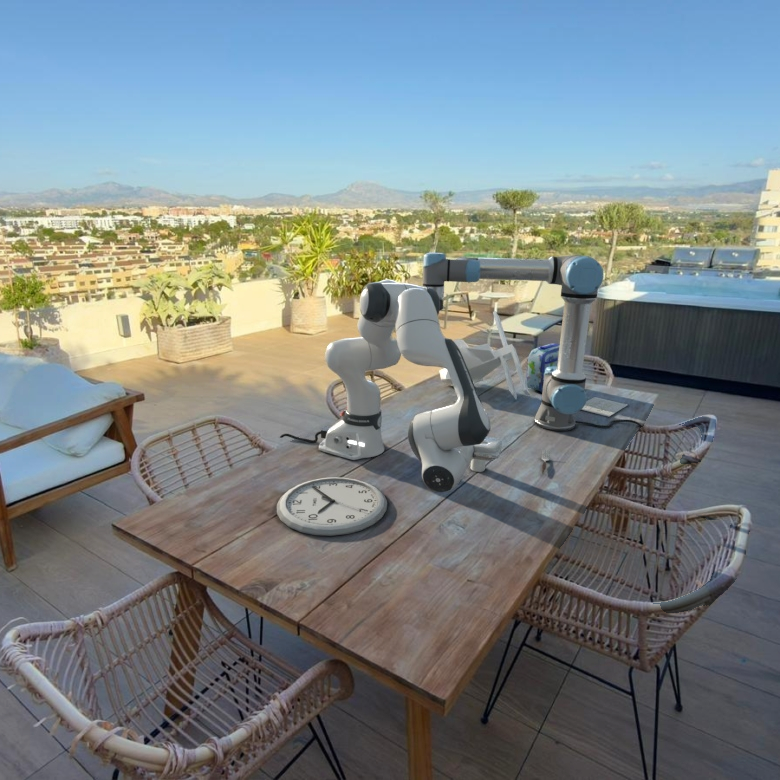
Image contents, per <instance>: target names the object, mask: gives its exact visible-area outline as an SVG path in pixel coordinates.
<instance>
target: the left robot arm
mask: <svg viewBox="0 0 780 780" xmlns="http://www.w3.org/2000/svg"><path fill="white" fill-rule="evenodd" d="M359 311H360V315H359V317H358V320H357V325H356V326H357V332H358V335H360V337H359V336H358V337H348V338H347V337H346V338H341V339H337V340H335V341H331V342H330V343H329V344H328V345H327V346H326V349H325V352H324V361H325V364H326V366H327V367H328V369H329V370H330V371H332V372H333V373H334V374H336V375H337V376H338V377H339V378H340V379H341V381H342V382H343V385H344V388H345V392H346V393H345V395H346V407H345V409H343V410H342V412H341V413H340V415H339V417H340V418H341V419H340V420H339V421H337V422H336V423H334V424H333V425H331V426H324V427H323V428H322V429H321V430H320V431H317V432H316V433H315V434H314V439H309V438H304V437H300V438H299V436H296V435H293V434H289V433H283V434H281V435H280V436H279V438H281V439H282V438H284V437H288V438H291V439H294V440H298V441H300V442H305V443H306V442H307V443H310V444H314V443H317V442H318V441H319V437H318V436H319V435H320V438H321V439H322V440H321V441H320V443H319V444H318V451H319V452H323V453H327V454H330V455H334V456H336V457H341V458H344V459H348V460H352V461H356V460H360V459H366V458H367V459H368V458H371V457H372V458H373V457H377V456H379V455H381V454H382V453H384V452H385V445H384V442H383V437H382V428H381V427H382V421H383V416H382V409H381V389H380V387H379V386H378V384H377V383H375V382H374V381H372V380H370V379H367V378H366V372H369V371H377V370H384V369H387V368H391V367H393V366H396V365H397V364H398V363H399V362H400V360H401V357H403V358H404V359H405V360H406V361H408V362H410V363H412V364H414V365H417V366H420V367H421V366H422V367H436V368H442V369H444V368H446V369H447V370H448V373H449V375H450V378H451V381H452V383H453V384H452V386H453V389H454V392H455V394H456V396H457V400H456V402H454V403H453V404H450V405H445V406H442V407H439V408H436V409H431V410H427V411H424V412H421V413H417V414H415V415H414V416H413V417H412V419H411V421H410V422H409V423H410V424H409V427H408V429H407V440H408V442H409V446H410V449H411V451H412V453H413V454H414V456H415V457H416V458H417V459H418V461H419V462H420V463H421V479H422V481H423V483H424V485H425V486H426V487H427V488H428V489H430V490H431V491H432V492H433V491H434V492H437V493H447V492H451V491H452V490H453V489H455V488H456V487H457V486H458V485H459V484H460V482H461V481H462V479H463V478H464V476H465V474H466V471H467V470H468V468H469V466H471V461H472V459H479V460H485V462H486V461H487V462H492V461H495V460H496V459H499V457H500V455H501V453H502V449H503V441H502V440H501V439H500V438H497V437H489V434H490V431H491V421H490V417H489V415H488V413H487V411H486V409H485V407H484V404H483V402H482V401H481V399H480V396H479V393H478V392H477V389H476V386H475V383H474V382H473V381H472V378H471V376H470V373H469V371H468V368H467V366H466V363H465V361H464V359H463V356H462V354H461V352H460V350H459V348H458V346H457V345H456V344H455V342H454V340H453V339H452V338H446V337H445V336H444V334H443V332H442V328H441V323H440V318H439V315H440V311H441V310H440V298H439V295H438V294H437V292H436V291H435V290H434V289H432V288H429V287H426V286H423V285H422V286H420V285H416V284H411V283H405V282H401V283H399V282H397V281H395V280H392V279H383V280H380V281H375V282H369V283H367V284H365V285H364V287H363V288H362V289H361V293H360V296H359ZM394 331H395V335H396V336H395V337H396V338H395V337H394V336H393V334H394Z"/></svg>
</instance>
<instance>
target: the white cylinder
mask: <svg viewBox="0 0 780 780" xmlns="http://www.w3.org/2000/svg"><path fill="white" fill-rule="evenodd" d="M470 470H471V471H473V472H475V473H481V472H484V471H485V470H486V461H485V460H479V459H472V461H471V463H470Z"/></svg>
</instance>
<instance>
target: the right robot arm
mask: <svg viewBox="0 0 780 780" xmlns="http://www.w3.org/2000/svg"><path fill="white" fill-rule="evenodd" d="M422 264H423V265H422V286H426V287H429V288H432V289H434V290H435V291H436V292H437V294H438V295H439V298H440V311H442V310H444V299H443V298H444V297H445V282H447V283H449V282H452V283H453V282H457V283H468V284H470V283H477V282H479V281H480V280H495V281H497V280H499V281H500V280H501V281H526V282H527V281H531V282H546V283H547V284H548V285H557V286H561V289H560V298H561V299H562V300H563V303H564V305H563V313H562V322H561V330H560V339H559V345H560V346H559V355H558V364H557V366H553V367H547V368H546V369H545V373H544V382H543V392H541V393H542V394H541V402H540V405H539V407H538V410H537V411H536V413H535V416H534V424H535V425H536V426H537V427H539V428H542V429H544V430H549V431H556V432H567V431H572V430H574V429H575V428H576V424H580V425H585V426H592V427H597V428H601V429H602V428H604V429H609V428H610V427H612V426H613V424H614V423H632V424H636V425H637V426H638V427H639V428H644V426H643V424H641V423H640V422H638V421H636V420H633V419H613V420H611V421H610V422H609V424H605V425H603V424H597V423H593V422H589V421H588V422H587V421H581V420H576V418H575V417H576V416H575V414H576V413H579V412H580V411H582V410H581V409H582V408H583V407H584V406H585V404H586V401H588V397H587V392H586V389H585V388H586V383H587V382H586V381H587V375H586V374H585V373H584V371H583V369H584V361H585V355H586V347H587V339H588V338H587V337H588V330H589V324H590V318H591V317H590V316H591V308H592V303H593V302H594V301H596V300H597V298H598V294H599V293H598V291H599V288H601V285H602V284H603V281H604V269H603V267H602V265H601V264H600V262H599V261H597V260H596V259H595V258H594V257H592V256H587V255H581V254H574V255H573V254H572V255H565V256H551V257H549V258H548V259H545V258H544V259H543V258H542V259H541V258H540V259H539V258H501V257H500V258H497V257H496V258H495V257H494V258H492V257H466V256H460V257H457V258H455V259H451V258H449V259H448V258H447V257H446V253H444V252H427V253H425V254H424V255H423V263H422Z"/></svg>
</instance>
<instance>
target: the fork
mask: <svg viewBox="0 0 780 780" xmlns="http://www.w3.org/2000/svg"><path fill="white" fill-rule="evenodd" d="M541 460H542V461H543V463H542V465H541V474H544V473H545V469H546V468H547V463H546V462H548V461H550V460H551V452H549V451H547V450H544V449H543V450H542V455H541Z"/></svg>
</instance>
